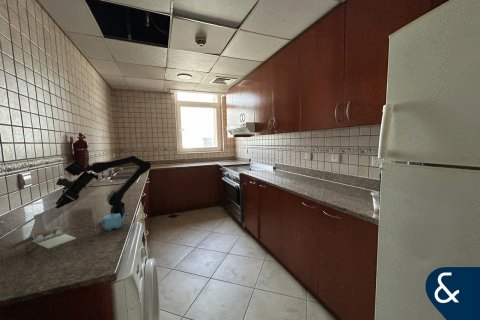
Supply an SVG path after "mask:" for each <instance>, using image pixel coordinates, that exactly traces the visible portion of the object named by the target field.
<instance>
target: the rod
mask: <svg viewBox="0 0 480 320" xmlns="http://www.w3.org/2000/svg"><path fill="white" fill-rule="evenodd" d="M57 229H62V228H61V226H60V225H59V226H56V227H53V228H49V230H46V231H42V232H39V233H36V234H34V237H36V236H38V235H41V234H42V235H44V234H47V235H49V234H50V233H53V232H54V231H56V230H57ZM48 233H49V234H48ZM44 236H45V235H44Z"/></svg>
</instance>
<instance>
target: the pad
mask: <svg viewBox="0 0 480 320" xmlns="http://www.w3.org/2000/svg"><path fill="white" fill-rule="evenodd" d="M76 239H77V237H74V236H72V235H69V234H66V233H64V234H63V235H60V236H57V237H54V238H51V239H48V240H45V241H41V242H38V243H36V244H37V245H39V246H41V247H43V248H45V249H48V250H49V249H51V248H54V247H57V246H60V245H63V244H66V243H68V242H70V241H74V240H76Z"/></svg>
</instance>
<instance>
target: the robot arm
mask: <svg viewBox="0 0 480 320" xmlns="http://www.w3.org/2000/svg"><path fill="white" fill-rule="evenodd" d="M129 163H132V164H134V165H135V166H136V168H135V170H134V171H133V172H132V173H131V174H130V175H129V176H128V178H127V179H126V180H125V181H124V182H123V183H122V185H121V186H119V188H118V189H116V190H114V189H113V190H111V191H110V192H109V193H108V194H107V198H106V202H107V203H108V205H110V206H111V207H110V211H109V212H110V214H118V213H120V215H121V218H122V217H123V215H124V214H125V213H126V210H125V209H126V208H125V206H126V204H125V202H123V201H122V200H123V198H124V196H125V194H126V193H127V191H128V190H129V189H130V188H131V187H132V186H133V185H134V183H135V182H136V181H137V180H138V179H139V178H140V177H141V176H142V175H144V174H145V173H146V172H148V171H149V170H150V169H151V168H152V165H151V163H150V162H149V160H148V161H147V160H142V159H141V158H139V157H136V156H134V155H129V156H125V157H121V158H117V159H116V158H115V159H113V160H107V161H95V162H92V163H91V164H90V165H83V164H81V163H80V162H79V161H78V160H76V159H74V160H73V161H72V162H70V163H68V164H66V166H65V167H64V168H63V170H64V171H65V172H67V173H69V174H70V175H72V176H73V177H75V176H77V178H76V179H73V180H69V179H68V178H65V177H63V178H61V177H58V179H57V181H56V183H55V184H56V186H63V188H62V189H61V190H62V191H61V192H62V194H60V196H59V198H58V199H57V201H56V202H55V205H56V206H55V208H56V209H60V208H63V207H64V206H66V205H69V204H71V203H73V202H76V201H77V200H78V199H79V198H80V192H81V191H82V190H83V189H86V187H88V185H89V184H90V183H91V182H92V181H93V180H94V179H95V180H97V181H98V180H99V174H101V173H103V172H105V171H107V170H109V169H111V168H114V167H118V166H122V165H126V164H129ZM86 170H87V171H86ZM127 214H128V213H127ZM127 214H126V215H125V216H127Z"/></svg>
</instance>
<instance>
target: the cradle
mask: <svg viewBox="0 0 480 320" xmlns="http://www.w3.org/2000/svg"><path fill="white" fill-rule="evenodd" d="M64 234H65V233H64V232H63V229H62V228H61V229H57V230H56V231H54V232H52V234H47V235H44V236H42V234H41V235H38V236H36V237H32V239H33V240H32V241H31V242H33V243H34V244H37V243H40V242H43V241H46V240H49V239H52V238H55V237H58V236H61V235H64Z"/></svg>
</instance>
